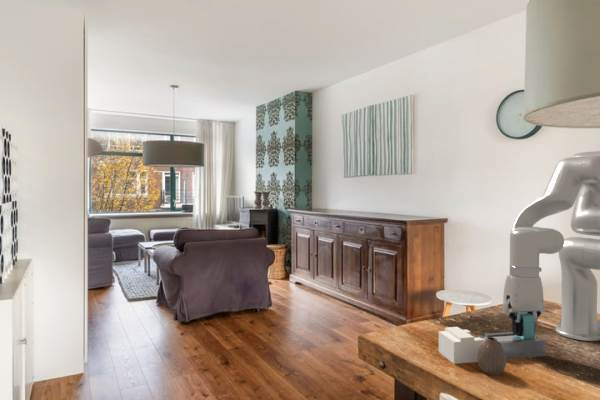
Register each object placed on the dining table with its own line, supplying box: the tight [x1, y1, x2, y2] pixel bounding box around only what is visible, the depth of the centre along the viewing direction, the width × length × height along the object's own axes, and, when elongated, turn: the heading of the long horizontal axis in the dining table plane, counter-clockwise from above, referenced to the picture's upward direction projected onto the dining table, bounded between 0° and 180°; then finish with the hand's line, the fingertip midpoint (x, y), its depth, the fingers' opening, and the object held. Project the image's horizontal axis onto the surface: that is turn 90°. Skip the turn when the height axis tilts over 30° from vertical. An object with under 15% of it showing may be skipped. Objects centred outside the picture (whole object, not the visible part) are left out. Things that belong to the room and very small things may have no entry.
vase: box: [477, 337, 507, 376], centre depth 105 cm, size 7×7×9 cm
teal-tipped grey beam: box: [481, 312, 536, 342], centre depth 117 cm, size 14×4×10 cm, turn 99°
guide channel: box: [484, 331, 547, 360], centre depth 117 cm, size 14×8×4 cm, turn 99°
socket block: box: [438, 326, 484, 365], centre depth 114 cm, size 9×8×7 cm
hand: (523, 333), depth 118 cm, fingers closed on teal-tipped grey beam, 3 cm apart
